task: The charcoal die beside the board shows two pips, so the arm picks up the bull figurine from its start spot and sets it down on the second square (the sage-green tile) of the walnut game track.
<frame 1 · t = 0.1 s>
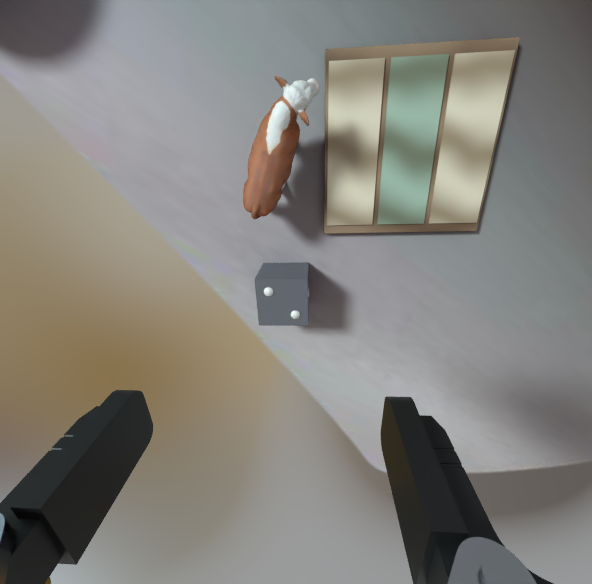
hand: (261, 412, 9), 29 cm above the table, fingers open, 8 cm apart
die: (286, 283, 39), on the table
game board: (406, 149, 32), on the table
bull figurine: (280, 153, 33), on the table
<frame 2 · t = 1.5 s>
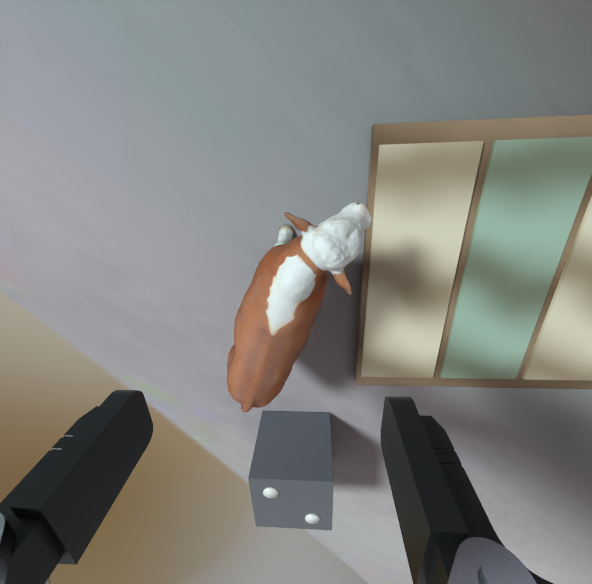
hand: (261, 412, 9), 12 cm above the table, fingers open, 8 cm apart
die: (296, 435, 27), on the table
game board: (498, 274, 19), on the table
bull figurine: (290, 274, 20), on the table
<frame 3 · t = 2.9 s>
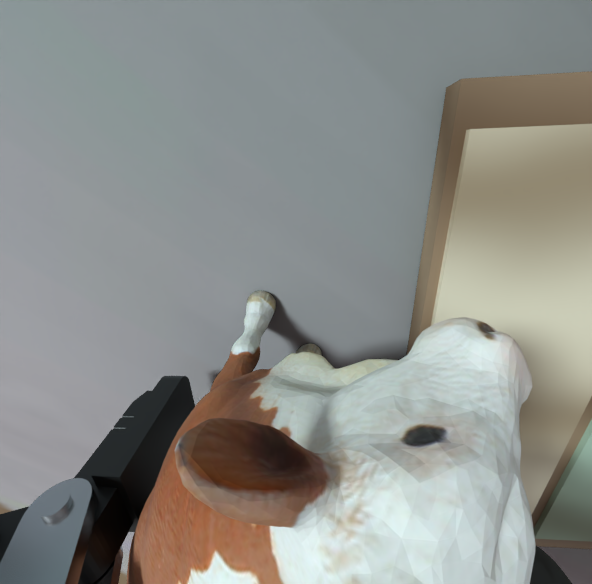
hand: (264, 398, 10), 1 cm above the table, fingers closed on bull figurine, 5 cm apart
bull figurine: (271, 372, 11), on the table, touching gripper
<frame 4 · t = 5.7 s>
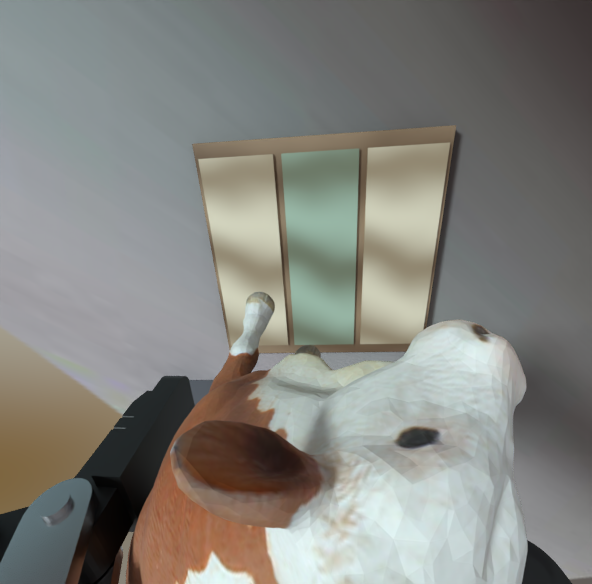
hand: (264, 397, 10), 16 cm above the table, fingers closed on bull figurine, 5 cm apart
die: (197, 401, 31), on the table
game board: (321, 257, 24), on the table
bull figurine: (271, 372, 11), point 14 cm above the table, touching gripper
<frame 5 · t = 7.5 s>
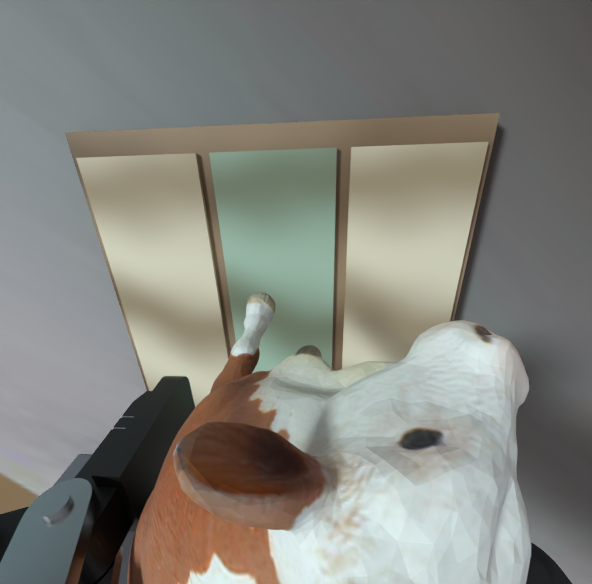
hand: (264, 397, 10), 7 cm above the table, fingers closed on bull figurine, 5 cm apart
die: (125, 480, 24), on the table
game board: (283, 308, 16), on the table
bull figurine: (271, 373, 11), point 5 cm above the table, touching gripper
when the fingers open (3 cm above the table, at t = 8.7 s): bull figurine drops 1 cm, resting on game board.
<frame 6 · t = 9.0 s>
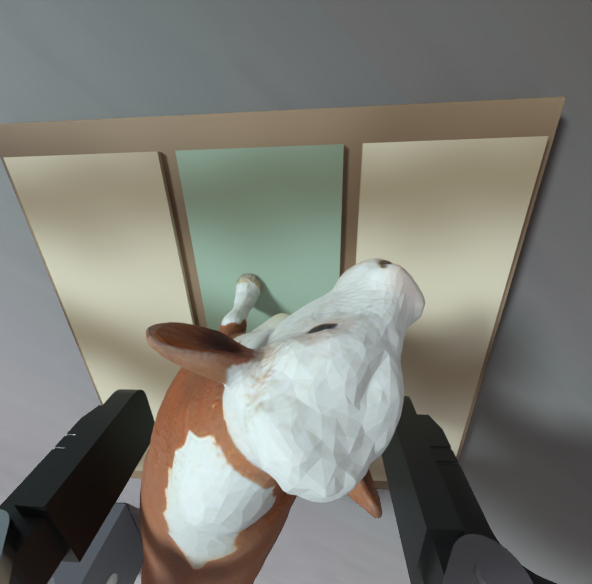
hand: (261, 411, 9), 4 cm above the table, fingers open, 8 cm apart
die: (97, 527, 21), on the table
game board: (276, 342, 13), on the table
bull figurine: (264, 349, 12), point 1 cm above the table, touching game board
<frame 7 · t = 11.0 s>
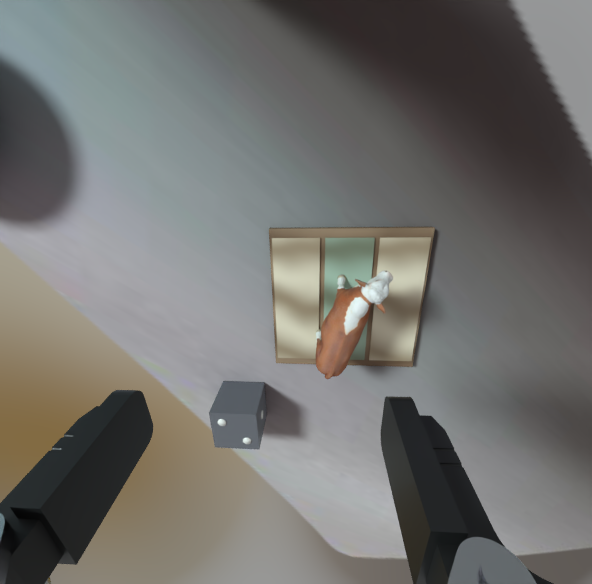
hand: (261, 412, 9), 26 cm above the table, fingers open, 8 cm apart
die: (245, 398, 42), on the table
game board: (345, 300, 35), on the table
bull figurine: (343, 301, 35), point 1 cm above the table, touching game board
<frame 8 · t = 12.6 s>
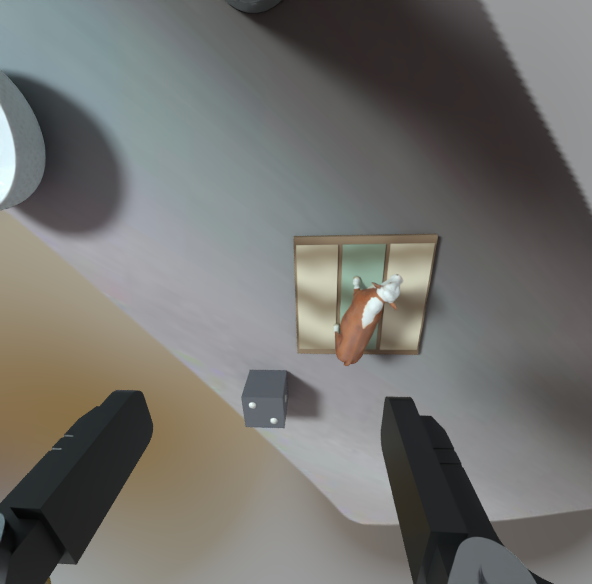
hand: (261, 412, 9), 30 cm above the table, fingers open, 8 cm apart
die: (269, 384, 48), on the table
cereal bowl: (4, 134, 35), on the table
game board: (359, 298, 40), on the table
bull figurine: (357, 299, 40), point 1 cm above the table, touching game board
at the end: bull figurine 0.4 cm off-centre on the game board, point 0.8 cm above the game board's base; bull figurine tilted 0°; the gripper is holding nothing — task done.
